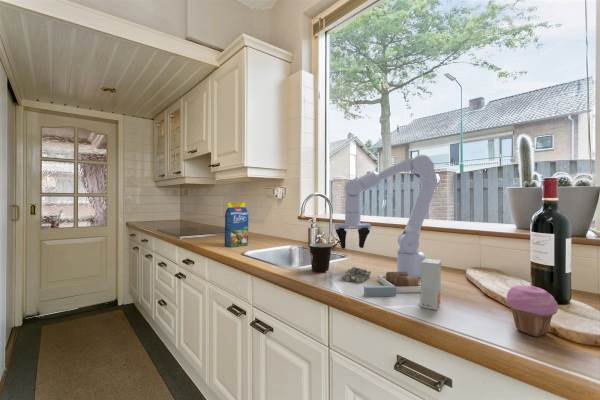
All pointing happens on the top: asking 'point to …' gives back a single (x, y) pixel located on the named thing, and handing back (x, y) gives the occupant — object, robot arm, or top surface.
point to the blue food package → (236, 225)
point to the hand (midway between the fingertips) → (352, 248)
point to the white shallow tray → (400, 289)
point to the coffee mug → (320, 257)
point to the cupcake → (531, 309)
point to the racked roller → (392, 275)
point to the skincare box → (430, 283)
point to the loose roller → (405, 281)
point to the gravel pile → (359, 273)
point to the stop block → (379, 291)
